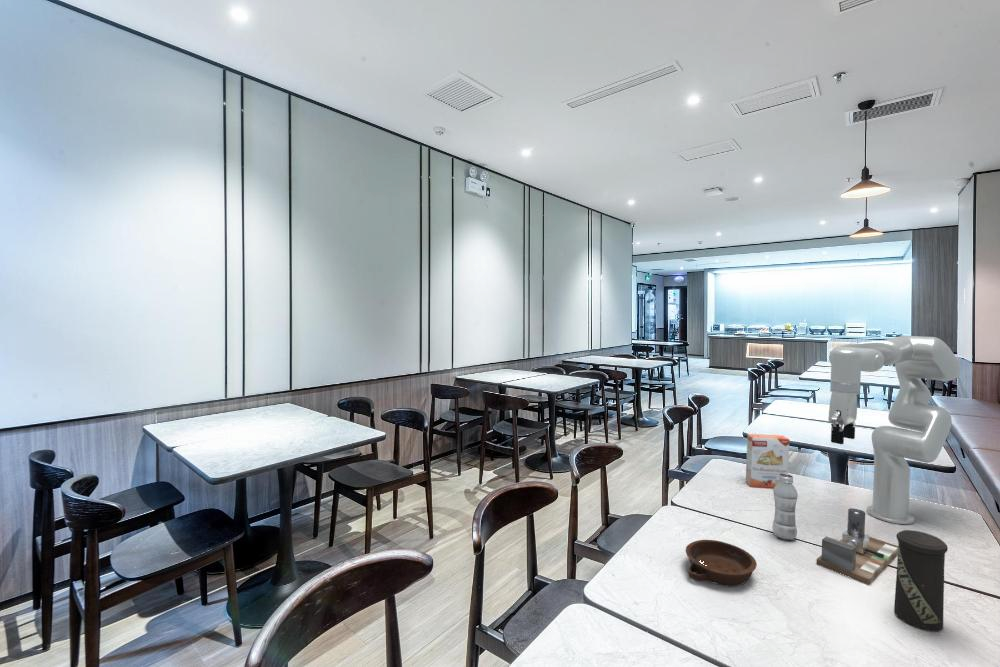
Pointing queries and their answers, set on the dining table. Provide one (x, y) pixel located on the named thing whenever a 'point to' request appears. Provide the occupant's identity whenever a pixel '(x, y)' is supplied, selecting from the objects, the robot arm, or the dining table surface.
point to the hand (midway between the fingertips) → (842, 440)
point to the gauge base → (856, 558)
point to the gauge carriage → (857, 532)
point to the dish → (719, 562)
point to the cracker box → (766, 459)
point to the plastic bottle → (785, 508)
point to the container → (920, 580)
